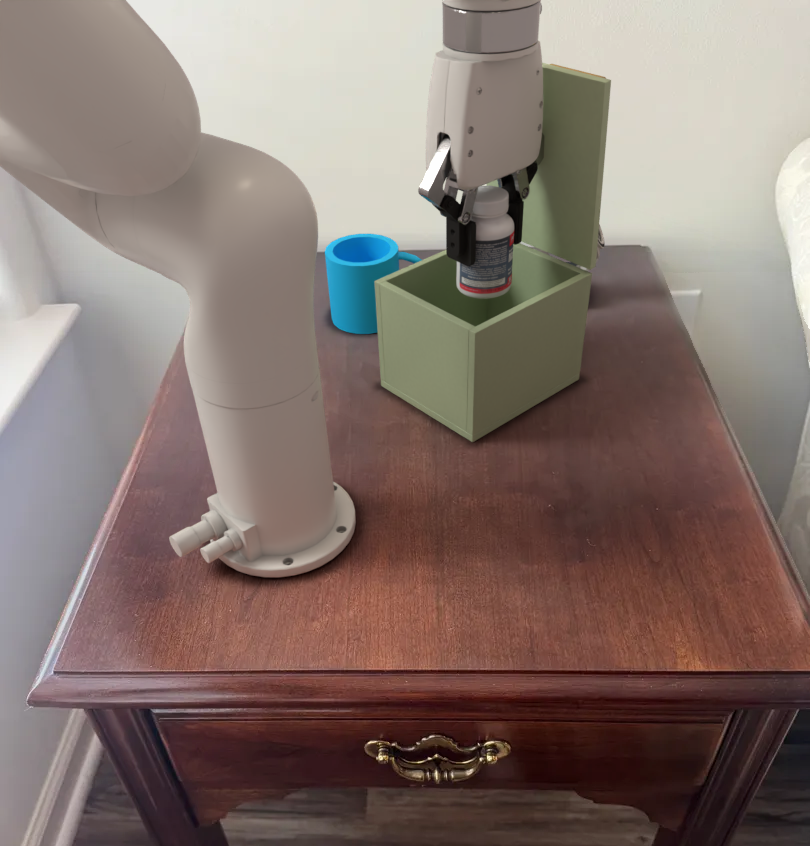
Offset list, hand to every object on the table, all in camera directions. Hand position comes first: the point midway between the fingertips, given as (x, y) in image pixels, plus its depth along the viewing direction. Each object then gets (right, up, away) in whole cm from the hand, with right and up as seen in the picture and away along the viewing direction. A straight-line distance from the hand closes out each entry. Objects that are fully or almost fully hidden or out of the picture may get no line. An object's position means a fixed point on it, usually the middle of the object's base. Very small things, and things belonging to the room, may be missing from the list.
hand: (484, 248), depth 79 cm
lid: (+5, +7, -1) cm, 9 cm away
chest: (+1, -11, +10) cm, 15 cm away
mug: (-10, -1, +21) cm, 23 cm away
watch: (+12, +2, +23) cm, 26 cm away
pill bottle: (0, -3, +3) cm, 4 cm away
